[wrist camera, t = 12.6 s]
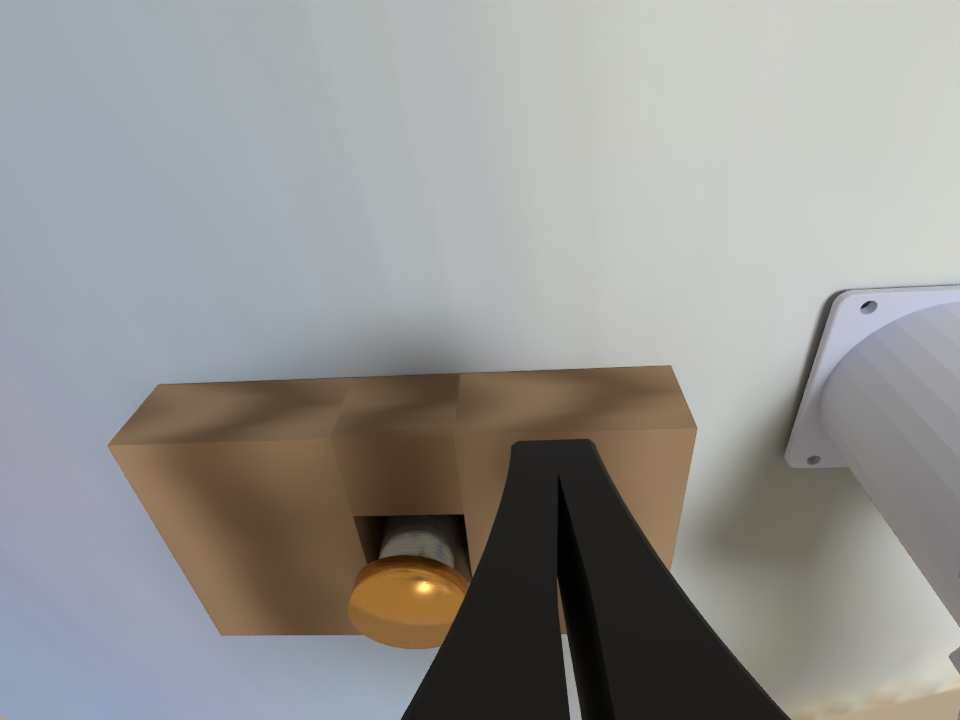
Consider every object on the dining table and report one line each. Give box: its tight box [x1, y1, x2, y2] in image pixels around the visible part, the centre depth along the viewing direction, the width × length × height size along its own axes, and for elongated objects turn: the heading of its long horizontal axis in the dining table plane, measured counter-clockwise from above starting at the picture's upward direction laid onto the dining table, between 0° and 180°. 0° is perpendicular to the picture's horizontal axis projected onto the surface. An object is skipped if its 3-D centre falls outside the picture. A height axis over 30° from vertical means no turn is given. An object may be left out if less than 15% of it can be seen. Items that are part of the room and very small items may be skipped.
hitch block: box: [107, 366, 697, 635], centre depth 24 cm, size 20×12×4 cm, turn 94°
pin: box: [348, 514, 469, 649], centre depth 23 cm, size 4×4×6 cm
